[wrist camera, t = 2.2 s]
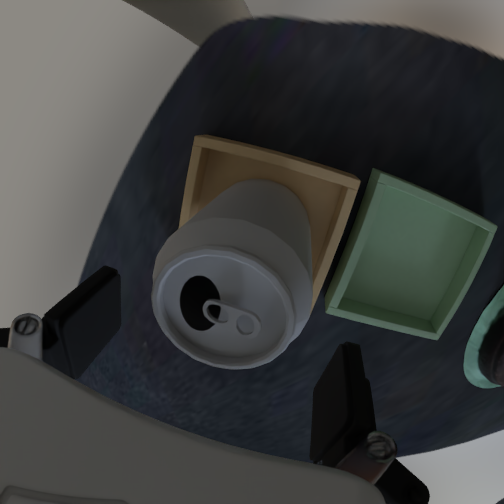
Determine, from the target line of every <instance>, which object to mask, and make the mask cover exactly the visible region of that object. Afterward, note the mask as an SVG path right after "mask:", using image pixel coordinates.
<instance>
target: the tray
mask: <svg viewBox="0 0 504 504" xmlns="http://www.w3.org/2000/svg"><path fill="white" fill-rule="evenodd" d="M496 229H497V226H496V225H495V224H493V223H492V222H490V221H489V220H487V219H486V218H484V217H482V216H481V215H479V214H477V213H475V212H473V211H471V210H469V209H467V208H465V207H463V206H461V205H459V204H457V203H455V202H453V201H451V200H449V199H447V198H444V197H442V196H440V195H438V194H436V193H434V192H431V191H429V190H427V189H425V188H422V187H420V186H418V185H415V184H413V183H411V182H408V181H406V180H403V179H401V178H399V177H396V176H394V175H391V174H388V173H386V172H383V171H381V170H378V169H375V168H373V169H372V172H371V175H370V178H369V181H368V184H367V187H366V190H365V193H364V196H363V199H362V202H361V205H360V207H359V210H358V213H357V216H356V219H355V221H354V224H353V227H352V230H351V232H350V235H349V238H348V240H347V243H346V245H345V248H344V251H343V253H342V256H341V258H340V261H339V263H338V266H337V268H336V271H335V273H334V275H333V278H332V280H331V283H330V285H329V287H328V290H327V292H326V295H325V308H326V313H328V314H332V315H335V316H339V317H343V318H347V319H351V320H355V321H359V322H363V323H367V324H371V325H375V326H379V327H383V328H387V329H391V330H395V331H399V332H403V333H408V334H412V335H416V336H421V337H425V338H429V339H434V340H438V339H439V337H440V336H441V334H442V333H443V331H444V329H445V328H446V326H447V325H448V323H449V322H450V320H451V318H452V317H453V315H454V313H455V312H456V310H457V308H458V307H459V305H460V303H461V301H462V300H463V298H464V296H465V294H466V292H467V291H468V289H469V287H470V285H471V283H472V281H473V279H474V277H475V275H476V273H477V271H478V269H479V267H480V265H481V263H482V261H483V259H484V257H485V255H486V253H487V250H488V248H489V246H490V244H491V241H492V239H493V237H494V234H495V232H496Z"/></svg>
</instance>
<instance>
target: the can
mask: <svg viewBox="0 0 504 504" xmlns="http://www.w3.org/2000/svg"><path fill="white" fill-rule="evenodd" d="M312 298H313V281H312V253H311V233H310V223H309V219H308V215H307V211H306V209H305V207H304V206H303V204H302V203H301V201H300V199H299V198H298V196H296V195H295V194H294V193H293V192H292V191H290V190H289V189H288V188H287V187H286V186H284V185H282V184H279V183H276V182H274V181H271V180H268V179H248V180H245V181H241V182H237V183H235V184H234V185H232V186H231V187H229V188H228V189H226V190H225V191H223V192H222V193H221V194H220V195H218V196H217V197H216V198H215V199H214V200H212V201H211V202H210V203H209V204H207V205H206V206H205V207H204V208H203V209H201V210H200V211H199V212H198V213H197V214H196V215H194V216H193V217H192V218H191V219H190V220H189V221H187V222H186V223H185V224H184V225H183V226H182V227H180V228H179V229H178V230H177V231H176V232H175V233H173V234H172V235H171V236H170V237H169V238H168V239H167V241H166V242H165V244H164V246H163V247H162V249H161V250H160V252H159V253H158V255H157V257H156V262H155V267H154V272H153V288H152V293H151V299H152V305H153V311H154V315H155V317H156V319H157V321H158V323H159V325H160V327H161V329H162V331H163V332H164V333H165V335H166V336H167V337H168V338H169V339H170V340H171V341H172V342H173V343H174V345H175V346H176V347H177V348H179V349H180V350H182V351H183V352H185V353H186V354H187V355H189V356H190V357H192V358H193V359H196V360H198V361H201V362H203V363H205V364H208V365H210V366H214V367H220V368H226V369H232V370H233V369H247V368H254V367H257V366H260V365H262V364H265V363H268V362H271V361H272V360H273V359H275V358H276V357H277V356H278V355H280V354H281V353H282V352H284V351H285V350H286V348H287V346H288V345H289V343H290V342H291V341H293V340H294V339H295V338H296V337H298V336H299V334H300V332H301V331H302V329H303V327H304V326H305V324H306V322H307V321H308V319H309V317H310V311H311V304H312Z"/></svg>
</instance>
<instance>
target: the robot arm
mask: <svg viewBox="0 0 504 504" xmlns="http://www.w3.org/2000/svg"><path fill="white" fill-rule="evenodd" d="M120 326H121V278H120V275H119V274H118V271H117V270H116V269H114V268H111V267H108V266H103V267H102V268H100V269H99V270H98V271H97V272H95V273H94V274H93V275H91V276H90V277H89V278H88V279H86V280H85V281H84V282H83V283H81V284H80V285H79V286H78V287H76V288H75V289H74V290H73V291H72V292H70V293H69V294H68V295H67V296H66V297H64V298H63V299H62V300H61V301H59V302H58V303H57V304H56V305H55V306H54V307H52V308H51V309H50V310H49V311H48V312H46V314H45V315H44V317H43V318H42V319H41V318H40V317H39V316H37V315H35V314H31V313H26V314H22V315H19V316H18V317H16V318H15V319H14V320H13V322H12V324H11V328H0V504H428V502H429V497H430V495H429V490H428V488H427V486H426V485H425V484H424V483H423V482H422V481H420V480H419V479H418V478H417V477H416V476H415V475H413V474H412V473H411V472H410V471H409V470H408V469H407V468H406V467H405V466H403V465H402V464H401V463H400V462H399V461H398V460H397V459H396V458H395V457H396V455H397V445H396V443H395V441H394V439H393V438H392V437H391V436H390V435H388V434H386V433H384V432H381V431H376V423H375V415H374V408H373V401H372V394H371V387H370V382H369V380H368V379H367V378H365V373H364V367H363V361H362V355H361V349H360V345H359V344H355V343H350V342H345V343H344V344H340V345H339V346H338V348H337V350H336V351H335V353H334V355H333V357H332V359H331V360H330V362H329V364H328V365H327V367H326V369H325V371H324V372H323V374H322V376H321V377H320V379H319V381H318V382H317V384H316V386H315V388H314V392H313V410H312V430H311V446H310V460H313V464H312V463H307V462H302V461H296V460H291V459H286V458H281V457H276V456H272V455H268V454H263V453H259V452H255V451H251V450H247V449H243V448H239V447H235V446H232V445H228V444H225V443H221V442H218V441H215V440H211V439H208V438H205V437H202V436H199V435H196V434H193V433H190V432H187V431H184V430H182V429H179V428H176V427H174V426H171V425H168V424H166V423H163V422H161V421H158V420H156V419H153V418H151V417H149V416H146V415H144V414H142V413H139V412H137V411H135V410H133V409H130V408H128V407H126V406H124V405H122V404H120V403H118V402H115V401H113V400H111V399H109V398H107V397H105V396H103V395H101V394H99V393H98V392H96V391H94V390H92V389H90V388H88V387H86V386H85V385H83V384H81V383H79V382H77V381H76V380H74V379H75V378H76V379H78V378H79V377H80V376H81V375H82V374H83V372H84V371H85V370H86V369H87V368H88V366H89V365H90V364H91V363H92V361H93V360H94V359H95V358H96V357H97V355H98V354H99V353H100V352H101V350H102V349H103V348H104V347H105V346H106V344H107V343H108V342H109V341H110V340H111V339H112V337H113V336H114V335H115V334H116V333H117V331H118V330H119V329H120Z"/></svg>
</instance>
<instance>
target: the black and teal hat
mask: <svg viewBox="0 0 504 504" xmlns="http://www.w3.org/2000/svg"><path fill="white" fill-rule="evenodd" d="M464 372H465V375H466V378H467V379H468V380H469V382H470V383H472V384H473V385H475V386H478V387H481V388H494V387H498V386H502V387H504V286H503V287H502V288H501V289H500V290H499V292H498V293H497V294H496V296H495V297H494V298H493V300H492V301H491V303H490V304H489V305H488V306H487V307H486V308H485V310H484V311H483V313H482V314H481V316H480V318H479V320H478V322H477V324H476V325H475V327H474V329H473V332H472V334H471V336H470V338H469V341H468V343H467V347H466V350H465V355H464Z"/></svg>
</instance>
